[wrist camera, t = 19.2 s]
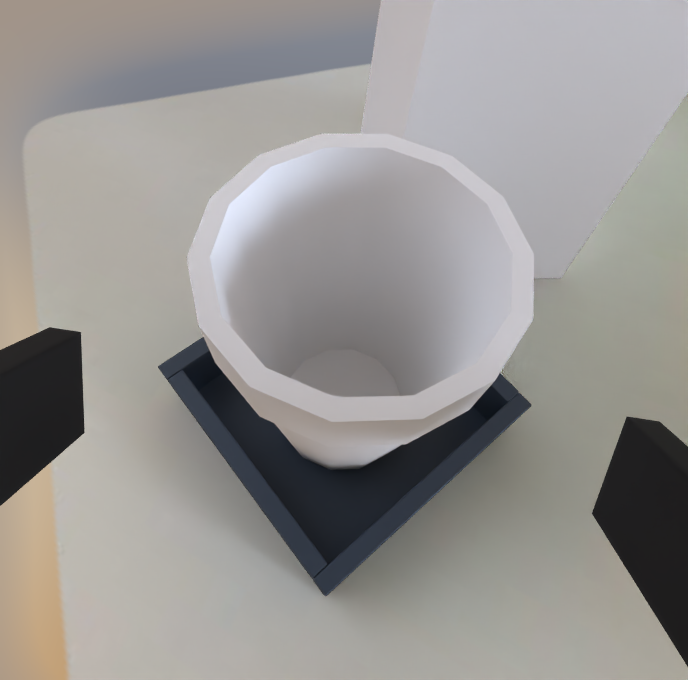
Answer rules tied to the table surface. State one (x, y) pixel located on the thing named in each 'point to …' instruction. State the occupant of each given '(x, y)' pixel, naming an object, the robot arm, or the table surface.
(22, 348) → the robot arm
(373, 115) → the milk
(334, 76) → the table surface
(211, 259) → the foam cup
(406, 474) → the tray
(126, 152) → the table surface
